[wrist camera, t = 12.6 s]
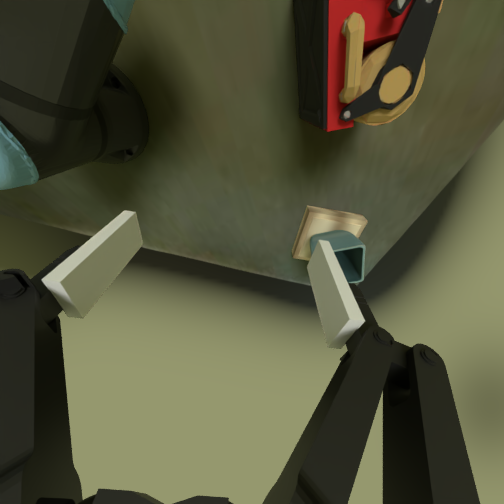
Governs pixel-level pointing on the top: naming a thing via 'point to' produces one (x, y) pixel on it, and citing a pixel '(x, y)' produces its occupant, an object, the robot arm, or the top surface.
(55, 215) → the top surface
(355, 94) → the red mechanical box
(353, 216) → the oak stand
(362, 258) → the flower pot
